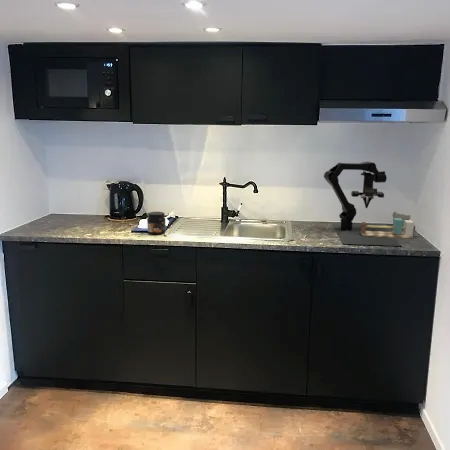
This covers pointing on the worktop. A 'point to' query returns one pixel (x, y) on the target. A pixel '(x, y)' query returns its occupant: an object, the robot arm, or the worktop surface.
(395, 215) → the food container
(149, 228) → the supplement container
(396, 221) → the sleeve
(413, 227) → the connector block
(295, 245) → the worktop surface
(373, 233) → the comb board
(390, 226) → the fibre cord
